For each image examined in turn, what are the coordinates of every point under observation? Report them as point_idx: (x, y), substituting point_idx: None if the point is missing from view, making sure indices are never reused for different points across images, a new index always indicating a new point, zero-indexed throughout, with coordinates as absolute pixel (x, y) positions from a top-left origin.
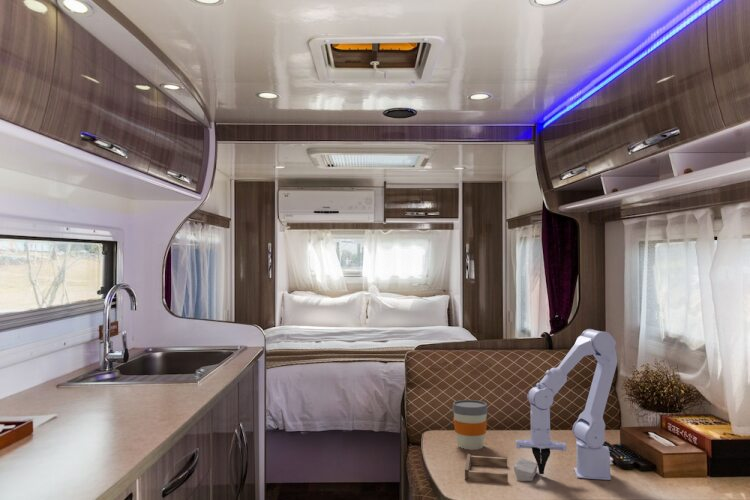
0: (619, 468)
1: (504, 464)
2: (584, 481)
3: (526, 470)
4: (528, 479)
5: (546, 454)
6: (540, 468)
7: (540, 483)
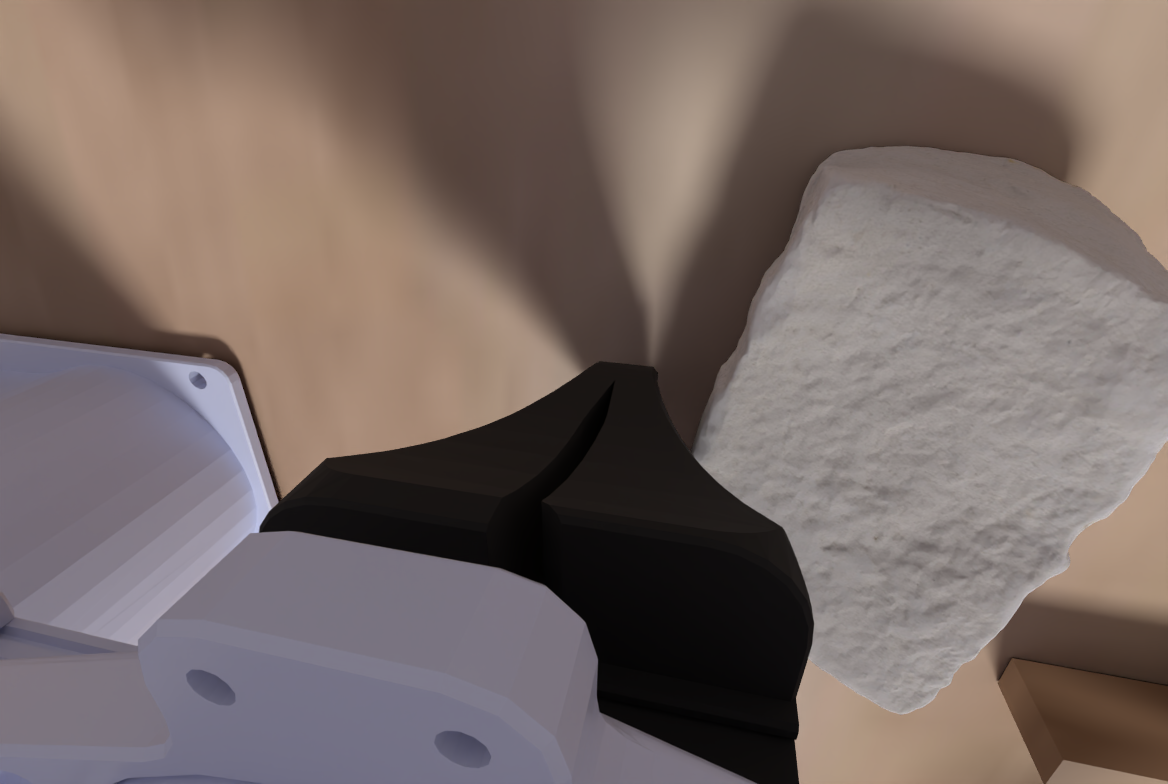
0: None
1: (1062, 691)
2: (164, 279)
3: (922, 292)
4: (884, 154)
5: (387, 474)
6: (628, 390)
7: (685, 100)
